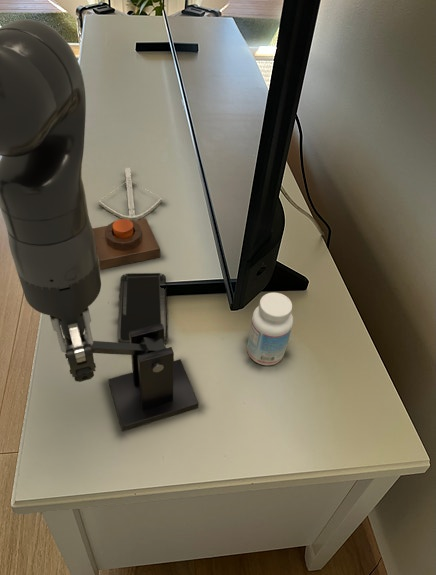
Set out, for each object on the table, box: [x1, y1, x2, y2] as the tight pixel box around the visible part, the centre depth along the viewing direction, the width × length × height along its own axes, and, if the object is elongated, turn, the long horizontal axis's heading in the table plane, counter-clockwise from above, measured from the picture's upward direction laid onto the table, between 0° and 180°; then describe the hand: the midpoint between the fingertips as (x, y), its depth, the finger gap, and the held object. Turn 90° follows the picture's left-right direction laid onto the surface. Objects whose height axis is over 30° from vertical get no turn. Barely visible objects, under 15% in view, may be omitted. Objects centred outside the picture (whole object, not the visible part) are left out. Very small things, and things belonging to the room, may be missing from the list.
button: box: [113, 218, 134, 239], centre depth 89 cm, size 4×4×2 cm
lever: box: [69, 337, 167, 356], centre depth 61 cm, size 12×4×2 cm, turn 111°
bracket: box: [107, 323, 199, 432], centre depth 67 cm, size 11×8×13 cm
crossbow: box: [98, 167, 163, 221], centre depth 103 cm, size 16×13×2 cm
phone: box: [116, 272, 169, 345], centre depth 82 cm, size 8×1×15 cm
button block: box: [92, 218, 161, 270], centre depth 91 cm, size 11×9×4 cm
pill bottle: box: [246, 292, 294, 366], centre depth 74 cm, size 6×6×11 cm
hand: (80, 359), depth 59 cm, fingers closed on lever, 4 cm apart
